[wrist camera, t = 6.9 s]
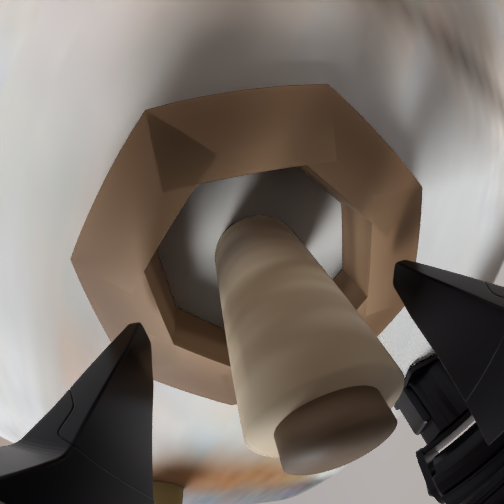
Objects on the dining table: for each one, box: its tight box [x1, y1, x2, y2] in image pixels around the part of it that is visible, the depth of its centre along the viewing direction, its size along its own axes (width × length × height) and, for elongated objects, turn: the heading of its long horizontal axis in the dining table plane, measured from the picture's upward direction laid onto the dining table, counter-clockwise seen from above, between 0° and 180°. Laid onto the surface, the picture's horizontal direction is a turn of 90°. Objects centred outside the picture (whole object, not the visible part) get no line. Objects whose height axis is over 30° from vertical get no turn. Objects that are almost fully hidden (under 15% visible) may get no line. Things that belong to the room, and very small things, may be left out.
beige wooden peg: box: [215, 216, 404, 475], centre depth 8 cm, size 4×4×9 cm
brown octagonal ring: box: [71, 84, 422, 405], centre depth 11 cm, size 13×13×2 cm
